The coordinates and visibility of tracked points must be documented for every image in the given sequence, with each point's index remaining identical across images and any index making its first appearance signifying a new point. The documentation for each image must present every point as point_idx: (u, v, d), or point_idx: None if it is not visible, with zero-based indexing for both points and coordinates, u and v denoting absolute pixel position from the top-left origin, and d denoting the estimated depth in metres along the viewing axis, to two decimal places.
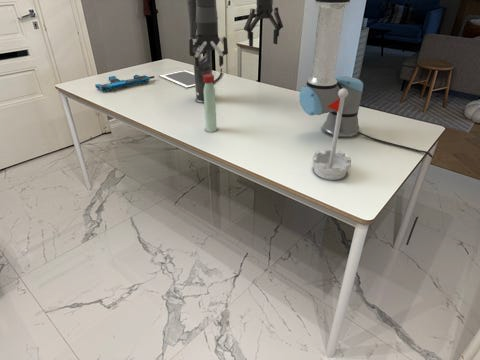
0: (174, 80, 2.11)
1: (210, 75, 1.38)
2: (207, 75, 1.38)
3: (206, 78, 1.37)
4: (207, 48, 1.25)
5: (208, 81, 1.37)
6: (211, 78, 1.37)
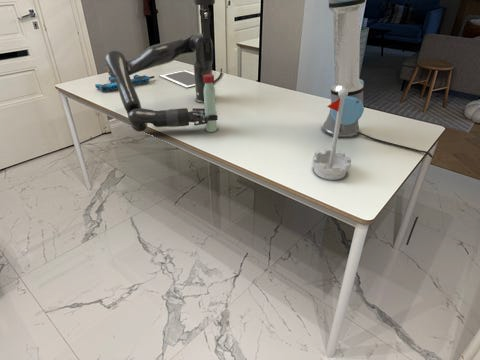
0: (174, 80, 2.11)
1: (210, 75, 1.38)
2: (207, 75, 1.38)
3: (206, 78, 1.37)
4: (199, 114, 1.46)
5: (208, 81, 1.37)
6: (211, 78, 1.37)
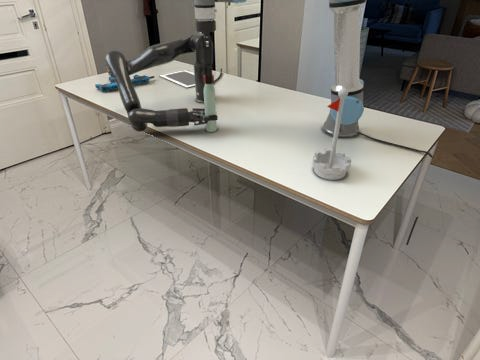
0: (174, 80, 2.11)
1: None
2: None
3: None
4: (199, 114, 1.46)
5: None
6: None
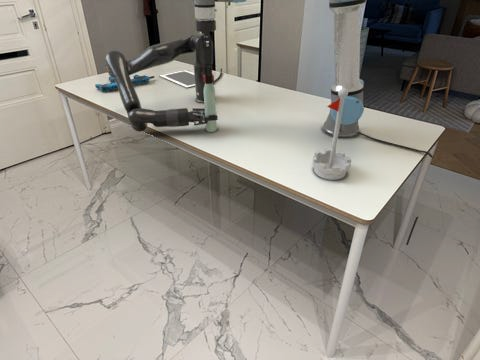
0: (174, 80, 2.11)
1: None
2: None
3: (213, 76, 1.39)
4: (199, 114, 1.46)
5: None
6: None
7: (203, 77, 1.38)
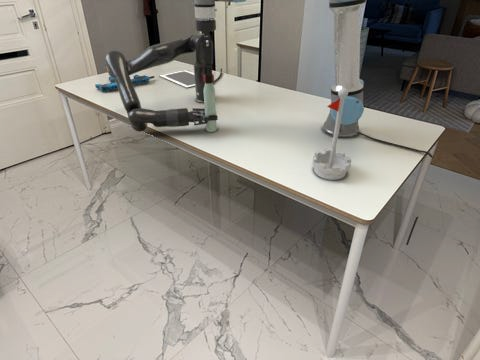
0: (174, 80, 2.11)
1: None
2: None
3: None
4: (199, 114, 1.46)
5: None
6: (203, 77, 1.38)
7: (212, 77, 1.37)
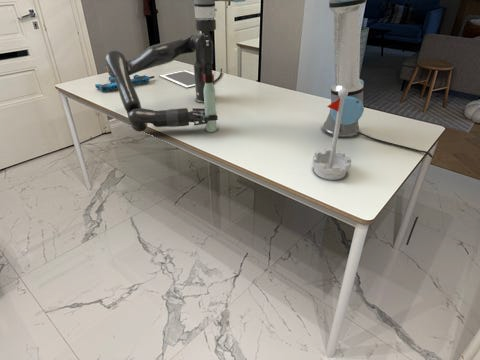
0: (174, 80, 2.11)
1: None
2: None
3: None
4: (199, 114, 1.46)
5: None
6: (212, 77, 1.37)
7: None
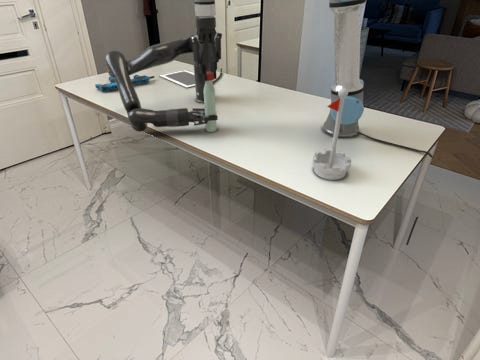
0: (174, 80, 2.11)
1: (207, 72, 1.38)
2: (207, 73, 1.37)
3: None
4: (199, 114, 1.46)
5: None
6: None
7: None
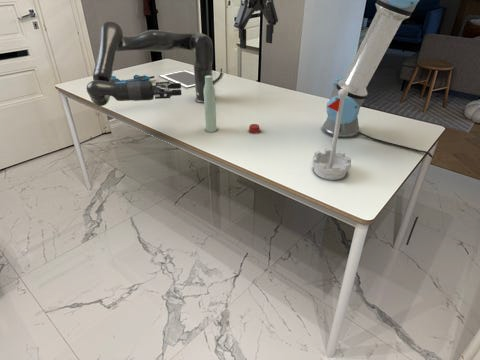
0: (174, 80, 2.11)
1: (253, 125, 1.49)
2: (253, 126, 1.48)
3: None
4: (163, 87, 1.37)
5: None
6: None
7: (250, 128, 1.48)
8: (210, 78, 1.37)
